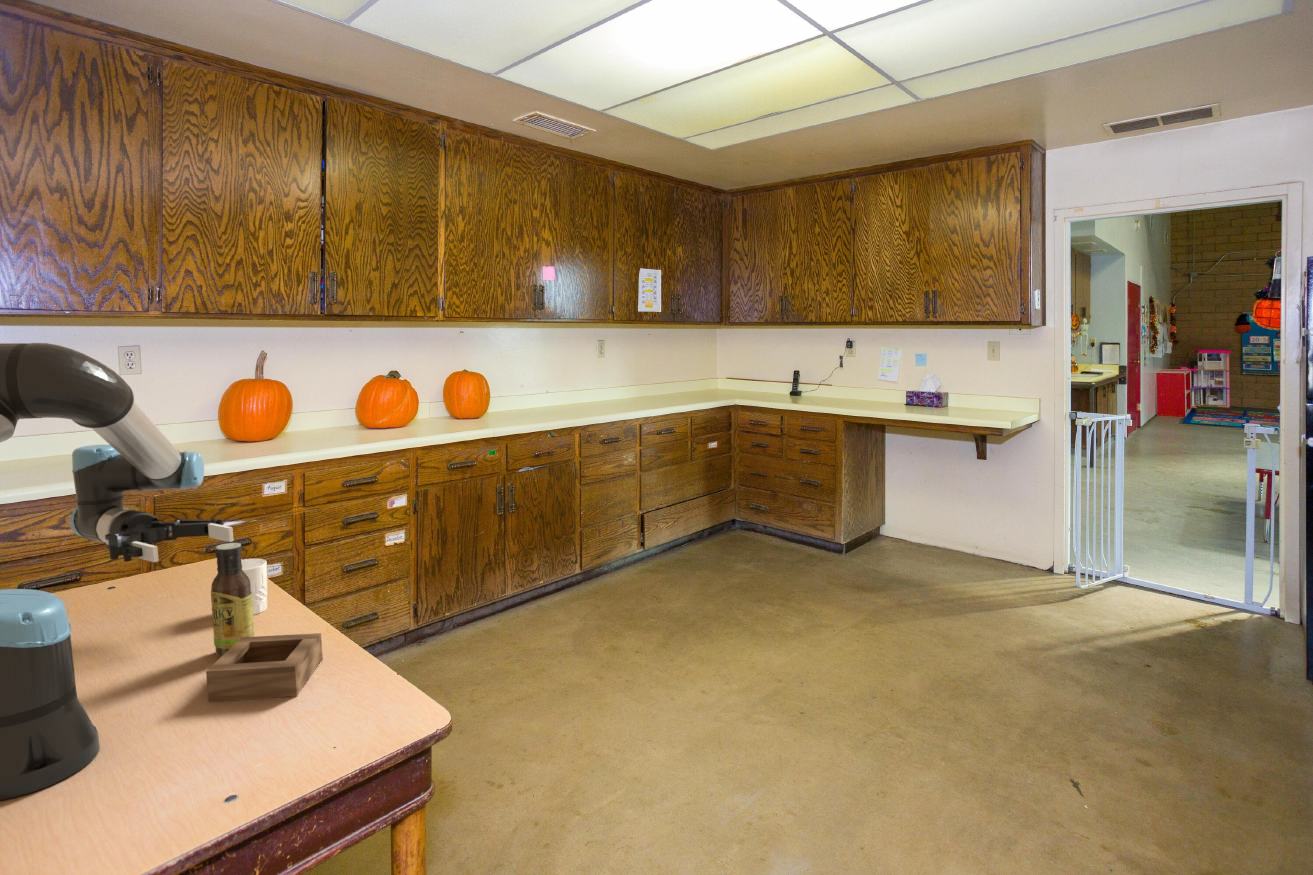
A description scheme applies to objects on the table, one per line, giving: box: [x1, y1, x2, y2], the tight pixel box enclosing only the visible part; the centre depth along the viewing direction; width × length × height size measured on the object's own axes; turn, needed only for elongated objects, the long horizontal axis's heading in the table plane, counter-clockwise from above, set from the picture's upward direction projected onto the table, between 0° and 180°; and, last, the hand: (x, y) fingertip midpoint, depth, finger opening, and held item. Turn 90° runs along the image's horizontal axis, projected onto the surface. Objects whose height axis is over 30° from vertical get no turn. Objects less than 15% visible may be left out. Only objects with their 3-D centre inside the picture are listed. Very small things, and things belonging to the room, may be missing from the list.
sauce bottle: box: [210, 542, 255, 658], centre depth 130 cm, size 6×6×20 cm
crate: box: [205, 632, 324, 703], centre depth 121 cm, size 13×13×5 cm
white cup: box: [241, 558, 268, 616], centre depth 151 cm, size 8×8×10 cm
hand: (195, 544), depth 134 cm, fingers open, 13 cm apart
